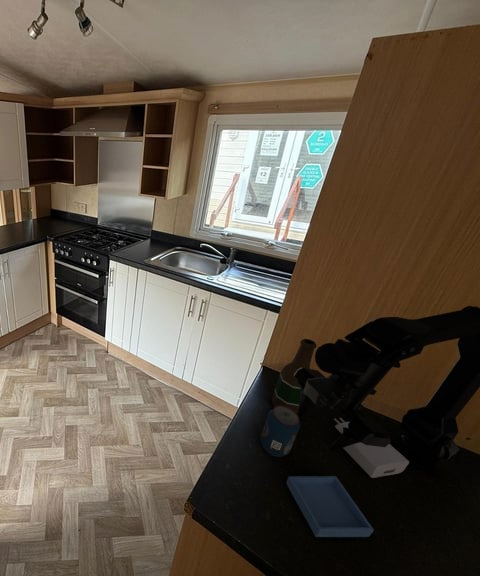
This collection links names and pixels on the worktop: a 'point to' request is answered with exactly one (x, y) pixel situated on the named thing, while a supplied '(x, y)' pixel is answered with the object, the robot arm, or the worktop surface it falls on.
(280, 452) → the soda can
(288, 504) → the worktop surface
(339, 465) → the worktop surface
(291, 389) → the beer bottle
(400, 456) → the charger
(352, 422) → the robot arm
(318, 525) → the blue tray
